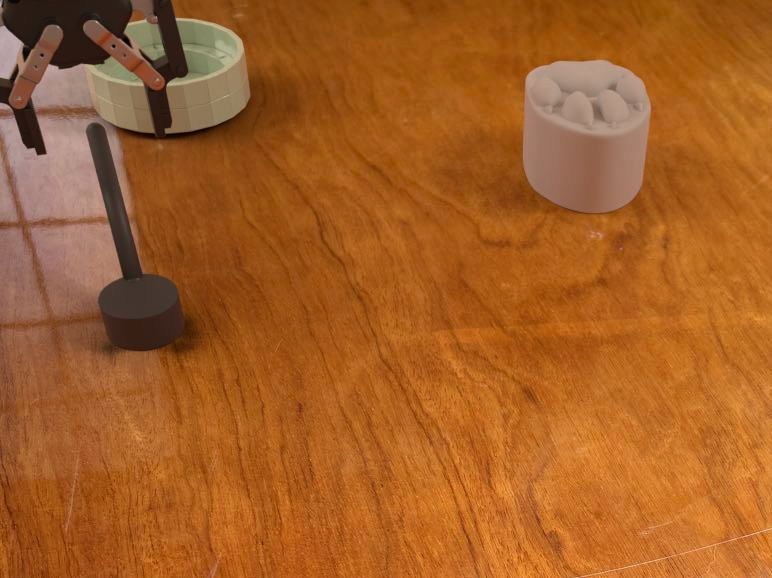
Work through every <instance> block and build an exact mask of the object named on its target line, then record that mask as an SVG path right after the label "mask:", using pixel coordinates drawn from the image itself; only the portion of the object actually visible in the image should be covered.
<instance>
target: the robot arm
mask: <svg viewBox="0 0 772 578" xmlns="http://www.w3.org/2000/svg"><path fill="white" fill-rule="evenodd" d="M133 11H134V12H139V13H141V15H143V17H144V20H146V21H147V22H148V23H150V24H157V26H158V29H159V33H160V37H161V41H162V45H163V48H164V52H165V55H163V56H161V57H159V58H157V59H156V60H154V59H153V58H152V57H150V56H149V55H148V54H147V53H146V52H145V51H144V50H143V49H142V48H141V47H139V45H138V44H137V43H136V42H135V40H134V39H133V38H132V37H130V36H129V35H128V34H127V33H126V32H125V29H126V27H127V25H128V23H130V22H131V19H132V17H133ZM176 18H177V17H176V14H175V10H174V6H173V2H172V0H2V1H1V5H0V28H1V27H5V28H6V30H7V31H8V32H9V33H11V35H13V36H14V37H15V38H17V39H18V40H19V41H20V42H21V45H20V47H19V49H18V52H17V55H16V59H15V62H14V64H13V66H12V69H11V71H10V73H9V75H8V77H7V78H4V77H0V104H3V105H7V106H8V107H9V108H10V109H11V111H12V113H13V116H14V118H15V119H14V120H15V122H16V126H17V128H18V129H17V130H18V132H19V135H20V138H21V142H22V144H23V145H24V147H25V148H26V149H27V150H31V149H34V151H35V153H36V156H37V157H38V156H45V155H48V152H47V148H46V147H47V146H46V144H45V140H44V136H43V133H42V129H41V126H40V121H39V119H38V115H37V112H36V109H35V105H34V102H33V98H32V95H33V93H34V91H35V89H36V86H38V85H39V84H40V82H42V79H43V77H44V75H45V73H46V71H47V69H48V67H49V65H50V66H53V67H58V70H67V69H72V68H74V67H77V66H79V65H84V64H88V65H99V64H105V62H104V61H105V60H107V59H109V58H110V57H111V56H112V57H113V58H115V59H116V60H117V61H118V62H119V63H120V64H121V65H123V66H124V67H125V68H126V69H127V70H128V71H130V72H133V73H134V74H135V75H136V76H138V77H139V78H140V79H141V80H142V81H143V84H144V89H145V94H146V98H147V103H148V107H149V112H150V117H151V121H152V125H153V129H154V132H155V133H154V135H155V137H156V139H158V138H165V137H167V134H166V133H165V129H167V128H171V126H172V117H171V112H170V107H169V102H168V97H167V92H166V86H167V84H168V83H169V82H170V81H171V80H173V79H175V78H184V77H185V76H186V75H187V74H188V66H187V62H186V58H185V54H184V50H183V46H182V42H181V38H180V34H179V30H178V26H177V22H176Z"/></svg>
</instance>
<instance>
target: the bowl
mask: <svg viewBox="0 0 772 578" xmlns="http://www.w3.org/2000/svg"><path fill="white" fill-rule="evenodd" d="M175 18H176V22H177V26H178V30H179V34H180V38H181V42H182V46H183V50H184V54H185V58H186V62H187V66H188V74H187V75H186V76H185V77H184V78H175V79H173V80H171V81H170V82H169V83H168V84H167V86H166V92H167V97H168V102H169V107H170V112H171V117H172V126H171V128H167V129H165V133H166V135H168V134H177V133H178V134H179V133H189V132H193V131H199V130H202V129H207V128H210V127H215V126H217V125H219V124H221V123H224V122H226V121H228V120H230V119H232V118H234V117H235V116H236V115H237V114H239V113H241V112H242V110H244V109H245V108H246V106H247V104H248V103H249V100H250V98H251V96H252V95H251V87H250V79H249V74H248V65H247V59H246V53H245V51H246V50H245V47H244V43H243V39H241V38H240V37H239V36H238V35H237V34H236V33H235V32H234V31H233V30H231V29H229V28H227V27H224V26H223V25H220V24H219V23H215V22H210V21H207V20H201V19H196V18H185V17H184V18H183V17H175ZM125 32H126V33H127V34H128V35H129V36H130V37H132V38H133V39H134V40H135V42H136V43H137V44H138V45H139V47H141V48H142V49H143V50H144V51H145V52H146V53H147V54H148V55H149V56H150V57H152V58H153V59H154V60H156V59H157V58H159V57H161V56H163V55H165V52H164V48H163V45H162V41H161V37H160V33H159V29H158V26H157V24H150V23H148V22H147V21H146V19H141V20H137V21H130V22H129V23H128V25H127V27H126V29H125ZM104 62H105V64H99V65H88V64H83V68H84V73H85V76H86V80H87V86H88V89H89V92H90V93H89V94H90V97H91V101H92V105H93V109H94V110H95V111H96V113H97V114H98V115H99V116H100V117H101V118H102V119H103V120H104V121H106V122H108V123H110V124H113V125H114V126H115V127H117V128H120V129H126V130H129V131H134V132H138V133H145V134H146V133H147V134H155V132H154V129H153V125H152V121H151V117H150V112H149V107H148V103H147V98H146V94H145V89H144V84H143V81H142V80H141V79H140V78H139V77H138V76H136V75H135V74H134V73H133V72H130V71H128V70H127V69H126V68H125V67H124V66H123V65H121V64H120V63H119V62H118V61H117V60H116V59H115V58H113V57H112V56H111V57H110V58H109V59H107V60H105V61H104Z"/></svg>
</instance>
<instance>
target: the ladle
mask: <svg viewBox="0 0 772 578" xmlns="http://www.w3.org/2000/svg"><path fill="white" fill-rule="evenodd" d="M85 134H86V138H87V143H88V146H89V150H90V153H91V157H92V161H93V166H94V169H95V173H96V177H97V181H98V184H99V189H100V193H101V198H102V201H103V205H104V208H105V212H106V216H107V219H108V224H109V228H110V231H111V232H110V233H111V235H112V240H113V242H114V247H115V252H116V255H117V259H118V262H119V266H120V271H121V275H122V277H119V278H118V279H115V280H113V281H111V282H110V283H108V284H107V285H105V287H103V288H102V289H101V291H100V292H99V295H98V297H97V302H98V307H99V310H100V314H101V319H102V321H103V325H104V328H105V332H106V336H107V339H109V341H110V342H111V343H112V344H113V345H115V346H117V347H119V348H121V349H124V350H130V351H149V350H155V349H159V348H162V347H164V346H167V345H169V344H171V343H173V342H174V341H176V340H177V339H178V338H179V337H180V336H181V335H182V333H183V332H184V330H185V327H186V321H185V316H184V311H183V307H182V306H183V305H182V301H181V297H180V292H179V289H178V287H177V285H176V283H174V281H172V280H170V278H167V277H165V276H162V275H158V274H152V273H143V269H142V266H141V261H140V258H139V254H138V249H137V246H136V242H135V239H134V235H133V231H132V228H131V224H130V220H129V216H128V211H127V208H126V204H125V200H124V196H123V193H122V188H121V185H120V181H119V177H118V173H117V170H116V165H115V162H114V158H113V154H112V150H111V146H110V142H109V138H108V135H107V131H106V128H105V127H104V126H103V125H102V124H101V123H99V122H90V123H89V124H88V125H87V127H86V129H85Z"/></svg>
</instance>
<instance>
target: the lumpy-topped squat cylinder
mask: <svg viewBox="0 0 772 578" xmlns="http://www.w3.org/2000/svg"><path fill="white" fill-rule="evenodd" d="M523 109H524V111H523V136H522V138H523V139H522V164H523V170H524V173H525V176H526V178H527V181H528V184H529V185H530V187H531V189H532V190H534V191H535V192H536V193H538V194H539V195H540V196H542V197H543V198H545V199H547V200H548V201H549V202H551V203H553V204H555V205H557V206H559V207H562V208H565V209H568V210H571V211H574V212H579V213H583V214H593V215H594V214H605V213H611V212H614V211H616V210H619V209H620V208H623V207H624V206H626V205H628V204H629V203H630V202H632V201H633V200H634V198H635V197H636V196H637V195H638V193H639V192H640V190H641V188H642V186H643V182H644V173H645V164H646V157H647V148H648V139H649V131H650V123H651V116H652V115H651V114H652V107H651V101H650V98H649V96H648V93H647V89H646V85H645V83H644V81H643V80H642V79H641V78H640V77H639V76H637V75H636V74H634V72H633V71H631V70H630V69H628V68H626V67H623V66H621V65H620V66H619V65H616V64H614V63H612V62H610V61H608V60H606V59H596V60H585V61H576V60H575V61H574V60H573V61H571V60H570V61H569V60H557V61H554V62H552V63H550V64H546V65H545V64H544V65H541V66H537V67H536V68H533V69H532V70H530V72H529V73H528V74H527V75H526V77H525V82H524V108H523Z"/></svg>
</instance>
